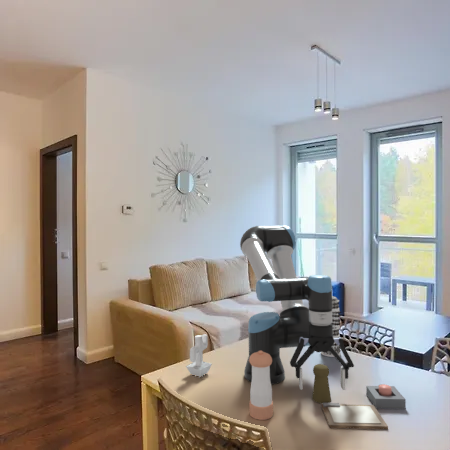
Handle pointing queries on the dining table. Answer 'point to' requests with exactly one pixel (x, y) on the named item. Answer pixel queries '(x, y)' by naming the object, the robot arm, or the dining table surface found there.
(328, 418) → the clipboard
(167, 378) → the dining table surface
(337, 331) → the decorative candle
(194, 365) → the figurine
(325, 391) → the pepper shaker
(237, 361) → the dining table surface
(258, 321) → the robot arm
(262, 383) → the pepper shaker
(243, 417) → the dining table surface
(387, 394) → the button
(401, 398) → the button housing
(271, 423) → the dining table surface
